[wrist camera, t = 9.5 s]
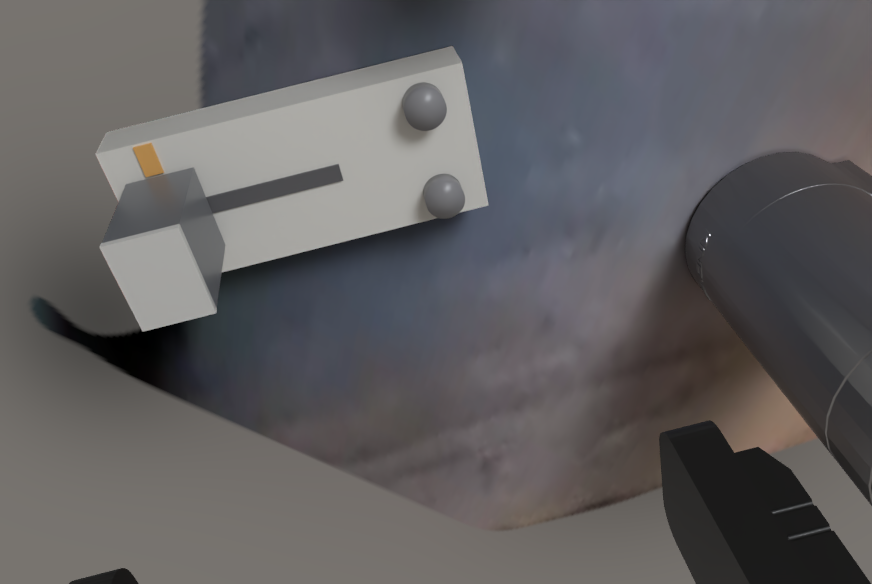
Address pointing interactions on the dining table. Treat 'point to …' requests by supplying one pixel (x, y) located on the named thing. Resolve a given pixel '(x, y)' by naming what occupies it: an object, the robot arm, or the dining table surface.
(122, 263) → the fader tab
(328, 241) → the console
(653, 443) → the dining table surface
